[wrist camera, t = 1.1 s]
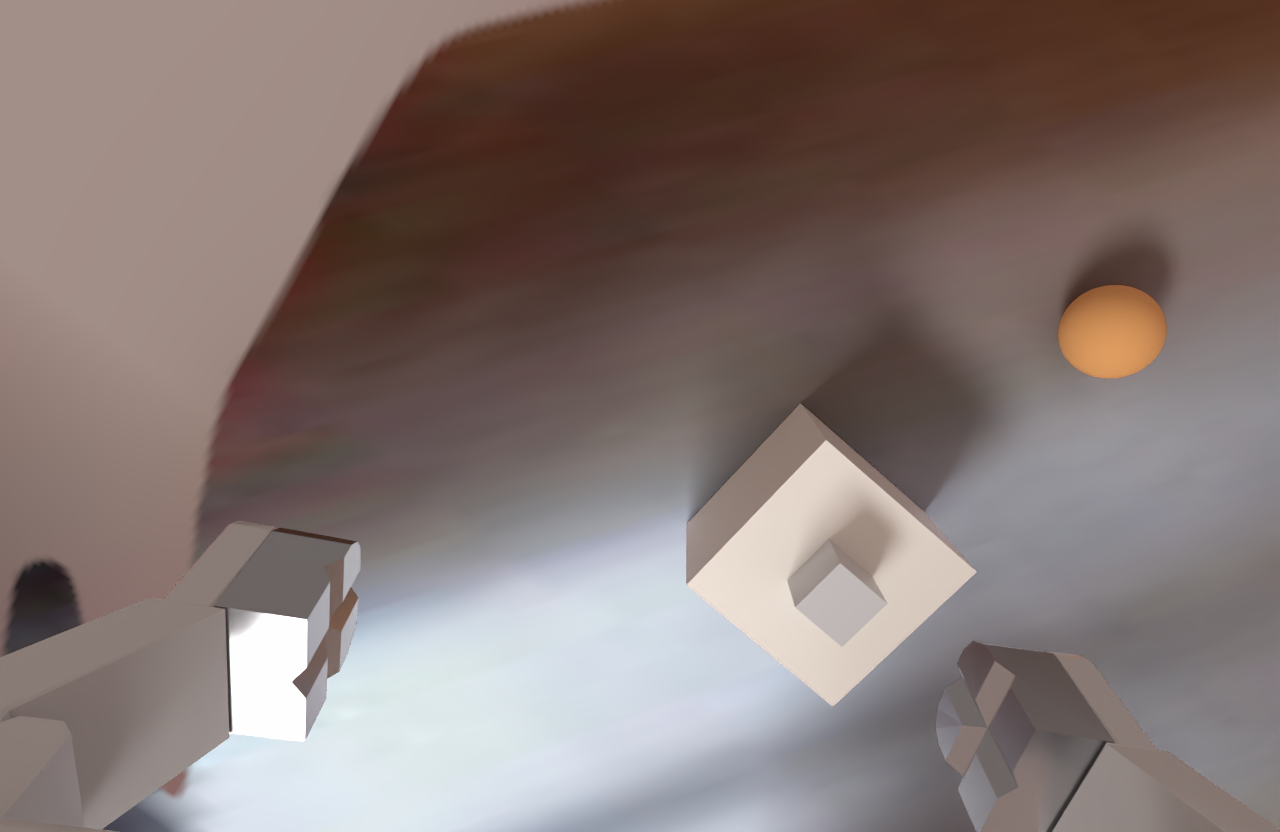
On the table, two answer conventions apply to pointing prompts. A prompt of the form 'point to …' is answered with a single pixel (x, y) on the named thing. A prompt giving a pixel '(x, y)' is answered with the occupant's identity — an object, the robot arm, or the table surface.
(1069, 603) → the table surface
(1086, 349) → the ball
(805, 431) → the white box
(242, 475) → the table surface
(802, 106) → the table surface
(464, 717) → the table surface
